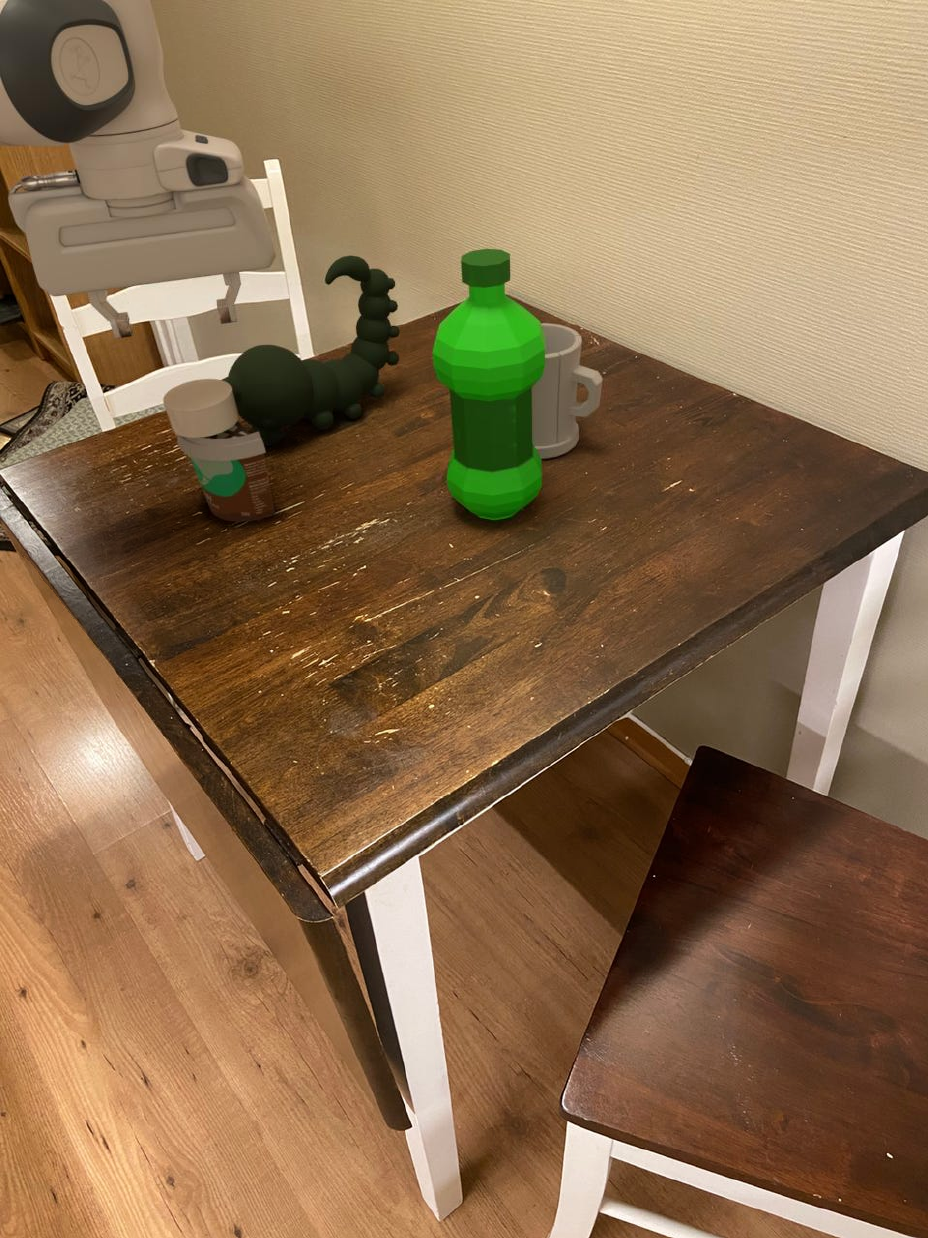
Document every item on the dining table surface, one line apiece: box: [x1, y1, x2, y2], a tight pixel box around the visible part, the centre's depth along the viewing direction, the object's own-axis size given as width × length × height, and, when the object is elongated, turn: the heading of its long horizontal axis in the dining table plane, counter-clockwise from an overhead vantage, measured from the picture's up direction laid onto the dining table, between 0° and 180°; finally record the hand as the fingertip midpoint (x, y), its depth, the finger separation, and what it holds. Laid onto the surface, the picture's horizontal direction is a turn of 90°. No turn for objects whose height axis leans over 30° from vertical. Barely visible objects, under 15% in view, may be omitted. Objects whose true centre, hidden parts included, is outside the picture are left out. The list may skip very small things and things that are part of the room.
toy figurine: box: [221, 255, 401, 446], centre depth 101 cm, size 9×19×25 cm
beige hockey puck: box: [162, 378, 240, 438], centre depth 86 cm, size 7×7×3 cm
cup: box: [532, 322, 604, 460], centre depth 96 cm, size 10×9×12 cm
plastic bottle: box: [431, 248, 545, 521], centre depth 83 cm, size 10×10×25 cm
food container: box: [176, 420, 276, 522], centre depth 90 cm, size 12×6×10 cm, turn 37°
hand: (177, 328), depth 81 cm, fingers open, 8 cm apart
